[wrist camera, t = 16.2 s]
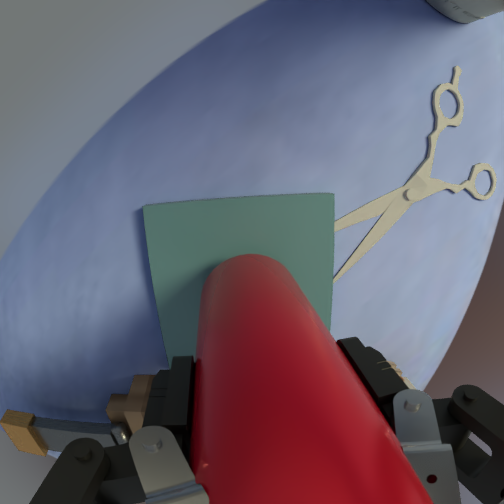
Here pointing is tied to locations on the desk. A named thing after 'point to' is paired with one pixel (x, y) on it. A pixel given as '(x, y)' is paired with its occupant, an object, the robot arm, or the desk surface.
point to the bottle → (284, 401)
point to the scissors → (413, 183)
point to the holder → (131, 404)
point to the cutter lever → (57, 432)
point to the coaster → (235, 252)
